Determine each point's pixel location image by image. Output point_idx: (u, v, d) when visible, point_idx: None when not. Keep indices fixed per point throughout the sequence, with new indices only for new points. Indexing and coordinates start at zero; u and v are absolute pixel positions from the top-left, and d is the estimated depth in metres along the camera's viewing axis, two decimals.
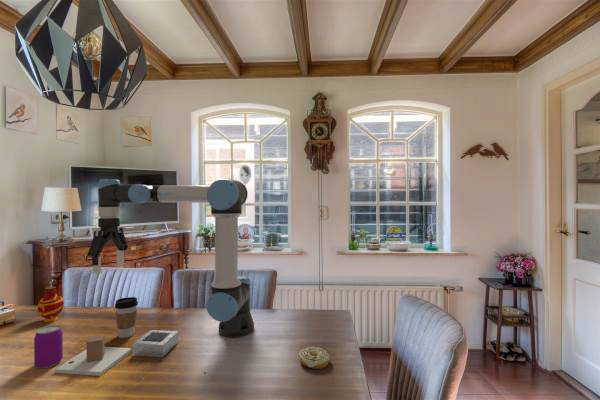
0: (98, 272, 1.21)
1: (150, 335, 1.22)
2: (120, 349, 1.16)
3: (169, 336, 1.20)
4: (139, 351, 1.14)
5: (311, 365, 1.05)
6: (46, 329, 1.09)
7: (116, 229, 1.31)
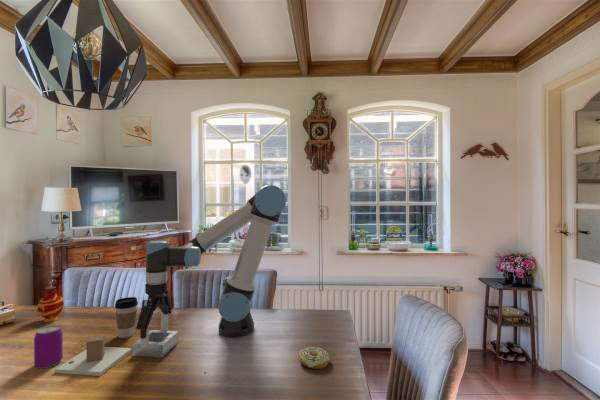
0: (146, 345, 1.12)
1: (150, 335, 1.22)
2: (120, 349, 1.16)
3: (169, 336, 1.20)
4: (139, 351, 1.14)
5: (311, 365, 1.05)
6: (46, 329, 1.09)
7: (162, 293, 1.22)
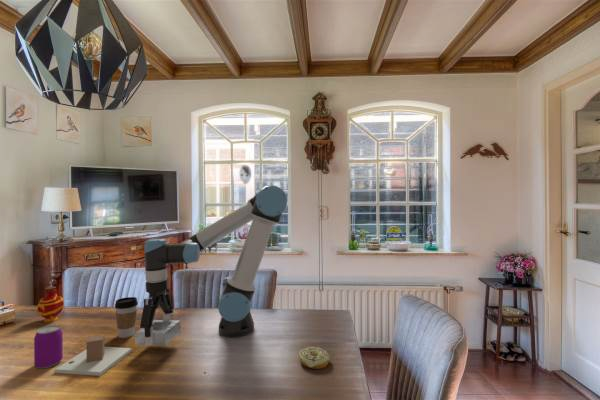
0: (151, 343, 1.13)
1: (152, 324, 1.22)
2: (120, 349, 1.16)
3: (171, 325, 1.20)
4: (142, 341, 1.14)
5: (311, 365, 1.05)
6: (46, 329, 1.09)
7: (163, 291, 1.22)
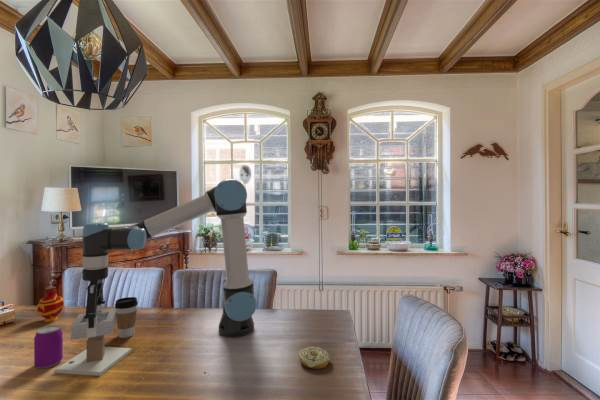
0: (94, 335, 1.04)
1: (83, 317, 1.10)
2: (120, 349, 1.16)
3: (110, 314, 1.13)
4: (80, 333, 1.03)
5: (311, 365, 1.05)
6: (46, 329, 1.09)
7: (100, 279, 1.13)
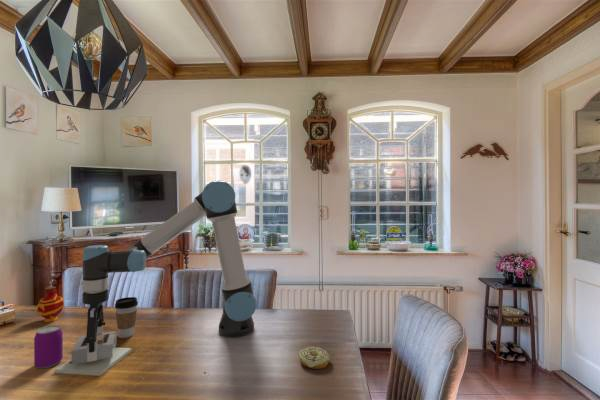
0: (95, 359, 1.05)
1: (84, 340, 1.11)
2: (120, 349, 1.16)
3: (111, 336, 1.13)
4: (81, 358, 1.04)
5: (311, 365, 1.05)
6: (46, 329, 1.09)
7: None
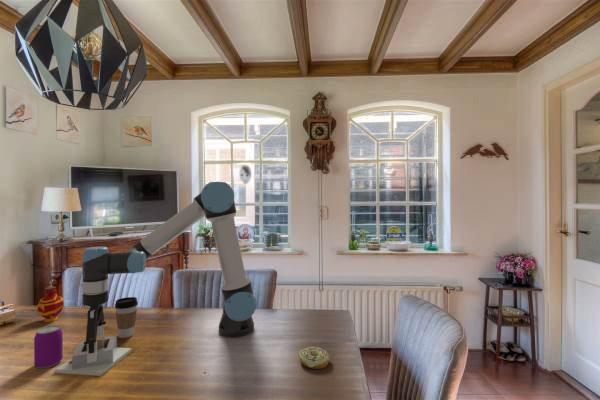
0: (95, 359, 1.04)
1: (84, 345, 1.11)
2: (120, 349, 1.16)
3: (111, 341, 1.13)
4: (82, 363, 1.04)
5: (311, 365, 1.05)
6: (46, 329, 1.09)
7: (100, 303, 1.13)
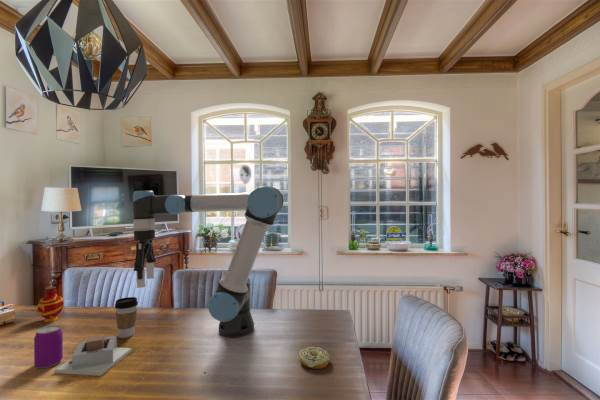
0: (143, 286, 1.19)
1: (84, 345, 1.11)
2: (120, 349, 1.16)
3: (111, 341, 1.13)
4: (82, 363, 1.04)
5: (311, 365, 1.05)
6: (46, 329, 1.09)
7: (149, 241, 1.29)
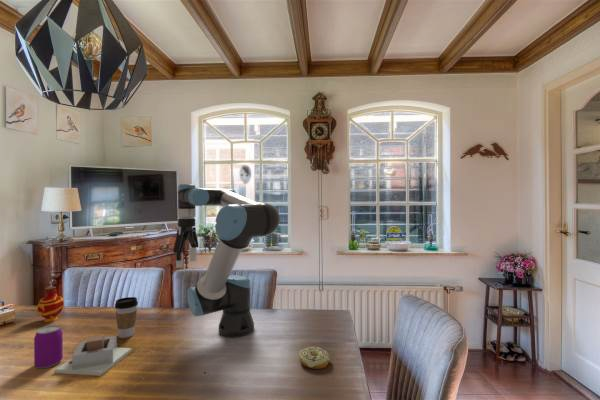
0: (181, 266, 1.37)
1: (84, 345, 1.11)
2: (120, 349, 1.16)
3: (111, 341, 1.13)
4: (82, 363, 1.04)
5: (311, 365, 1.05)
6: (46, 329, 1.09)
7: (191, 228, 1.47)
